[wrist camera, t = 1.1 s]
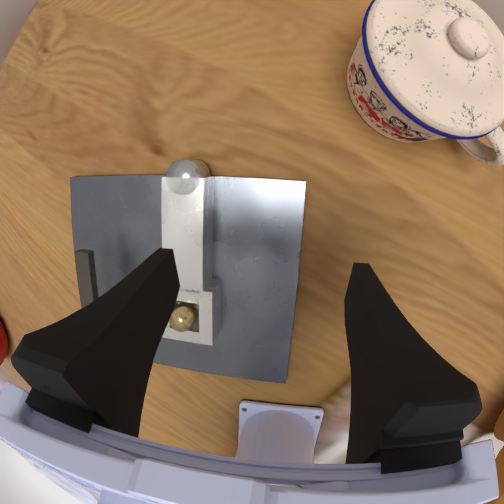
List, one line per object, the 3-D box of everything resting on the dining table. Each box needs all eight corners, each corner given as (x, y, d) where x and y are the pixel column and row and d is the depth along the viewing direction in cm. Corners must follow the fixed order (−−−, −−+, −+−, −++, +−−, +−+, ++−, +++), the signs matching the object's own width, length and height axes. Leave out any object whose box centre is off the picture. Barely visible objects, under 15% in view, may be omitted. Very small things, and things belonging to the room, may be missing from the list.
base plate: (285, 379, 27) (285, 383, 26) (92, 343, 30) (89, 346, 29) (305, 181, 22) (305, 181, 22) (74, 176, 25) (70, 177, 25)
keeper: (123, 332, 28) (102, 353, 24) (110, 330, 28) (89, 349, 24) (113, 241, 25) (87, 253, 22) (100, 240, 26) (74, 251, 22)
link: (220, 329, 26) (212, 345, 23) (170, 322, 27) (159, 336, 24) (224, 160, 22) (215, 159, 20) (167, 159, 23) (152, 159, 20)
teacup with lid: (317, 82, 20) (328, 11, 9) (392, 15, 18) (440, -67, 7) (429, 200, 21) (518, 233, 10) (494, 127, 19) (591, 118, 8)
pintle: (204, 312, 26) (190, 333, 22) (185, 309, 26) (169, 330, 23) (203, 294, 25) (189, 313, 22) (184, 291, 26) (168, 310, 22)
